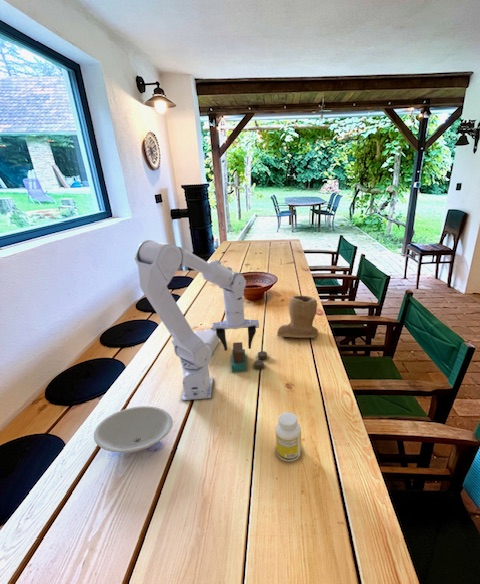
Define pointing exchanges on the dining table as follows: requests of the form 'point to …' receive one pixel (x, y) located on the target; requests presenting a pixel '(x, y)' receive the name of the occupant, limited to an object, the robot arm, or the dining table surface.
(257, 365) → the crumb
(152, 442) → the dish
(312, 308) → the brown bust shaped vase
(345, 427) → the dining table surface
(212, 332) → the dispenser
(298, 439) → the supplement bottle
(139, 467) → the dining table surface
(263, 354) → the crumb
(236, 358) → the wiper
